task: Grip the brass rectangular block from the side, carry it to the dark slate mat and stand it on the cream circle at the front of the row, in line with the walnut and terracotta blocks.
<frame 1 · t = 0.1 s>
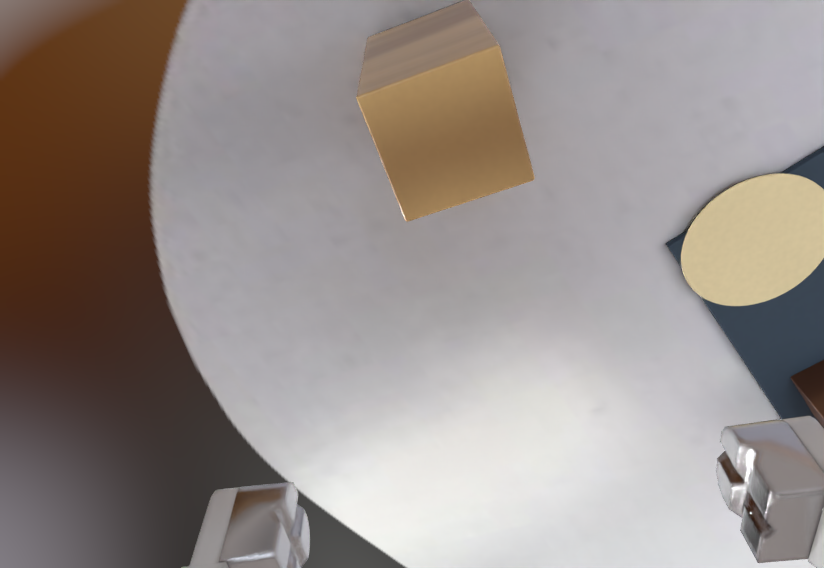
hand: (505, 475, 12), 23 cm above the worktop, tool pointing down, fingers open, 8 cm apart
brass rectangular block: (434, 70, 30), on the worktop
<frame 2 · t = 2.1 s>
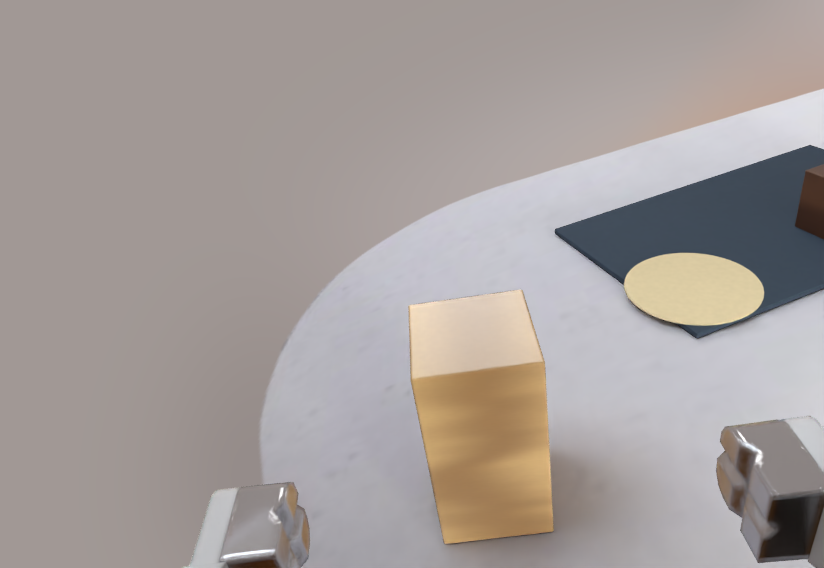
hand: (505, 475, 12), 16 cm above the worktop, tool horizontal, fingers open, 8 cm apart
pattern mat: (764, 225, 47), on the worktop
brass rectangular block: (491, 493, 31), on the worktop
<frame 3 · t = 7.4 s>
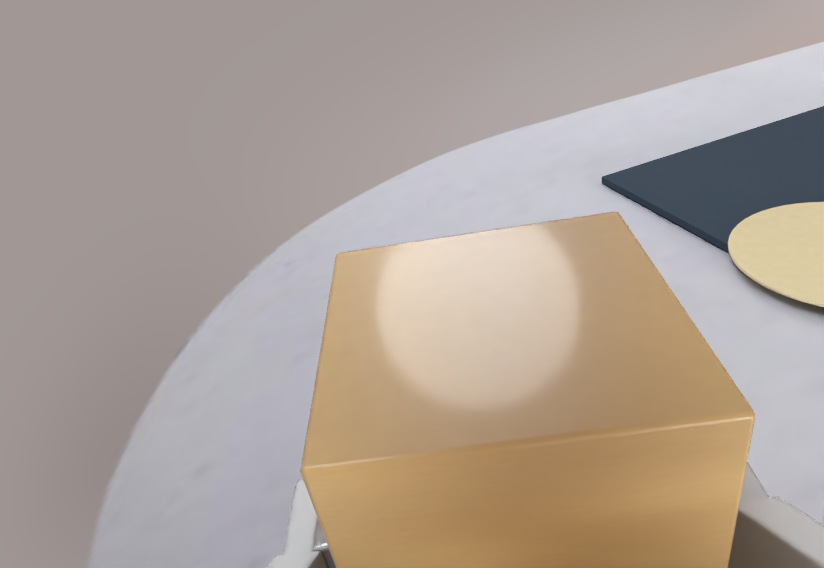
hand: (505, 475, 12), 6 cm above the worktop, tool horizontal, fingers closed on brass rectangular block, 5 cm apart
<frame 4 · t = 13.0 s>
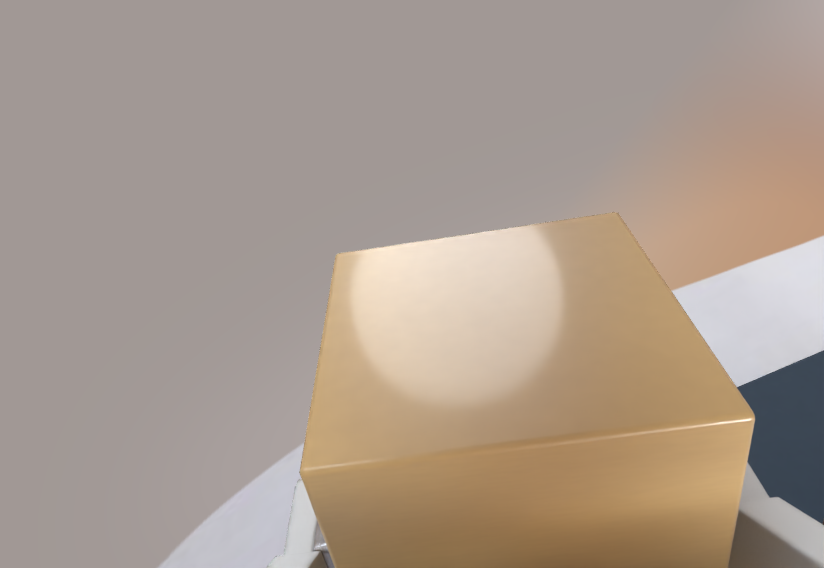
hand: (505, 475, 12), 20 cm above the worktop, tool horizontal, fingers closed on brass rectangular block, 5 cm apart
pattern mat: (770, 524, 32), on the worktop
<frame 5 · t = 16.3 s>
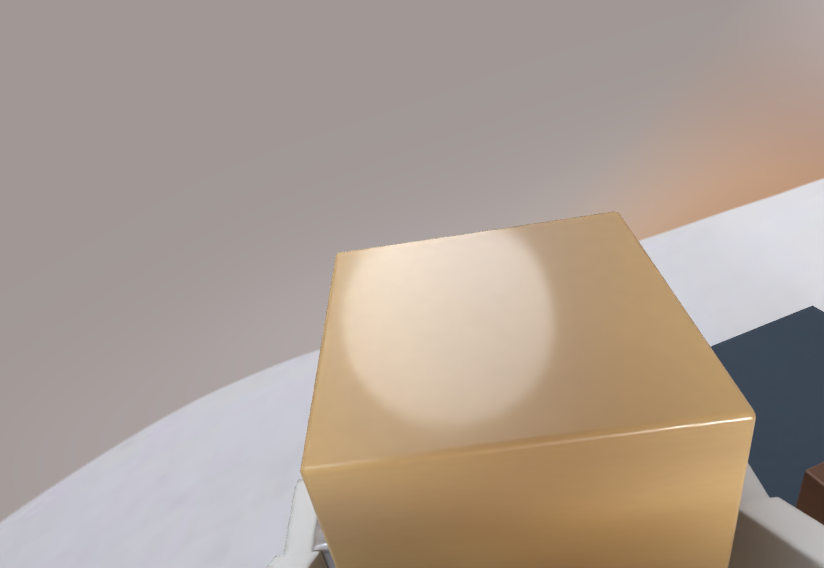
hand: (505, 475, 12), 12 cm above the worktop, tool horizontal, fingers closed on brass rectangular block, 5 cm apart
pattern mat: (721, 531, 23), on the worktop
when the fingers open (6 cm above the worktop, at t = 18.8 s): brass rectangular block stays where it is, resting on pattern mat.
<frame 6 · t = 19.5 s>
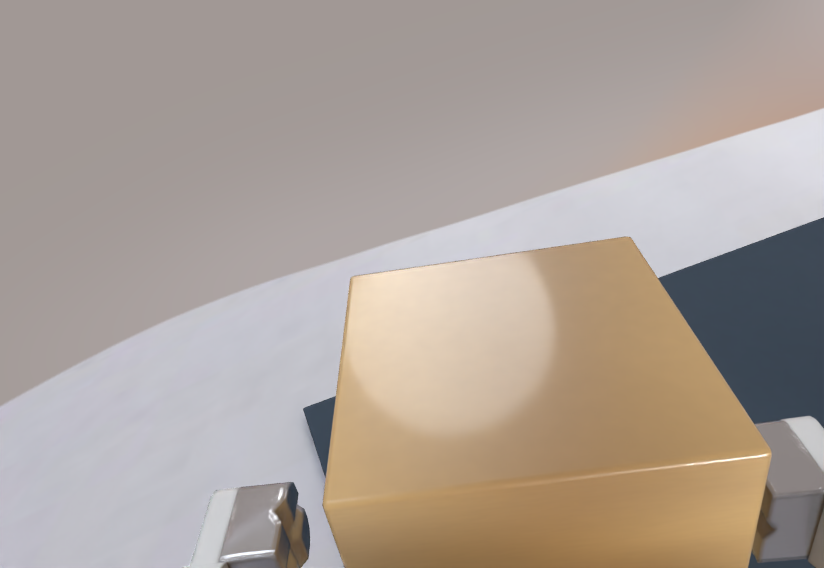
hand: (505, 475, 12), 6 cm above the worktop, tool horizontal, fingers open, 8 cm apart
pattern mat: (748, 428, 20), on the worktop
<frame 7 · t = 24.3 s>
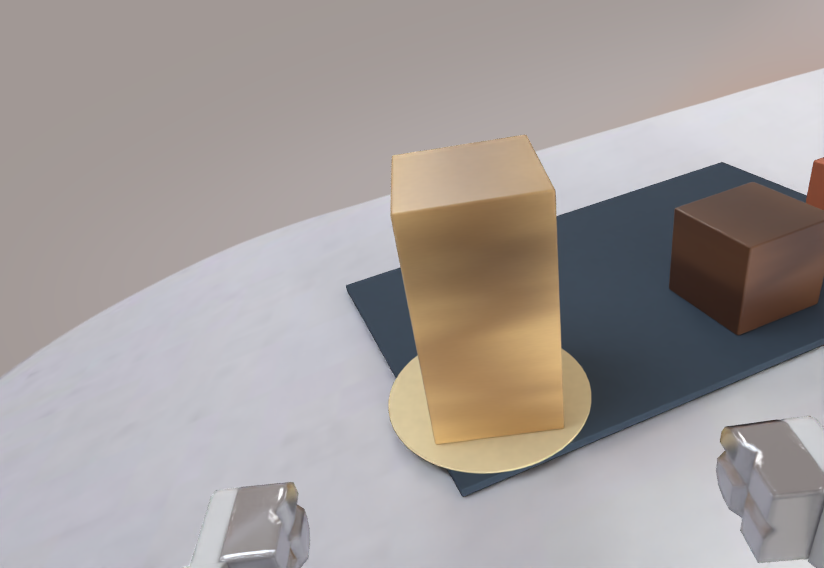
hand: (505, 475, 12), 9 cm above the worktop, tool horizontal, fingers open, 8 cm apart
walnut block: (739, 296, 29), resting on pattern mat
pattern mat: (629, 284, 32), on the worktop
brass rectangular block: (491, 393, 26), point 1 cm above the worktop, touching pattern mat
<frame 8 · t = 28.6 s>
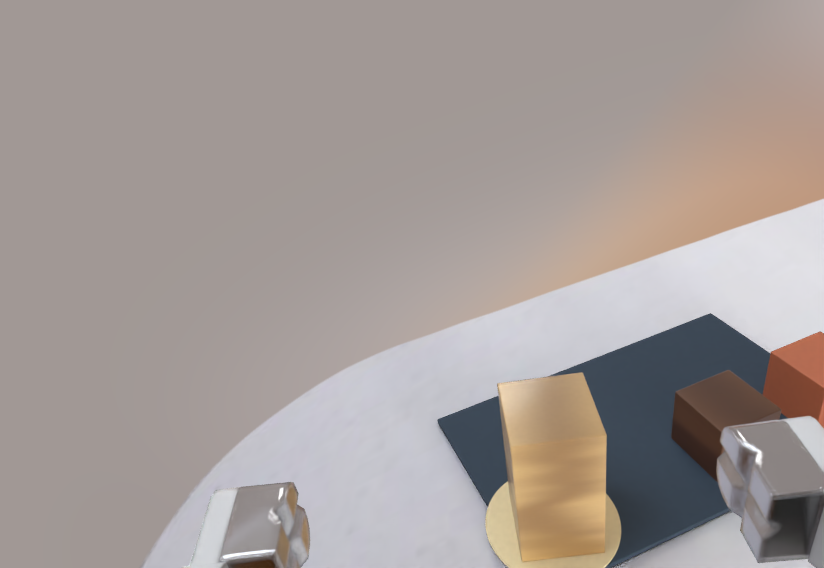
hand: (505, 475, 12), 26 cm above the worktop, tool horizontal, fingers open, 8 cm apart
walnut block: (719, 447, 43), resting on pattern mat
pattern mat: (643, 429, 46), on the worktop
terracotta block: (811, 406, 45), resting on pattern mat
brass rectangular block: (554, 522, 40), point 1 cm above the worktop, touching pattern mat
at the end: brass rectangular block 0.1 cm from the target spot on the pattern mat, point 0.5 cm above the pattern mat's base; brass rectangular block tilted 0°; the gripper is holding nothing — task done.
